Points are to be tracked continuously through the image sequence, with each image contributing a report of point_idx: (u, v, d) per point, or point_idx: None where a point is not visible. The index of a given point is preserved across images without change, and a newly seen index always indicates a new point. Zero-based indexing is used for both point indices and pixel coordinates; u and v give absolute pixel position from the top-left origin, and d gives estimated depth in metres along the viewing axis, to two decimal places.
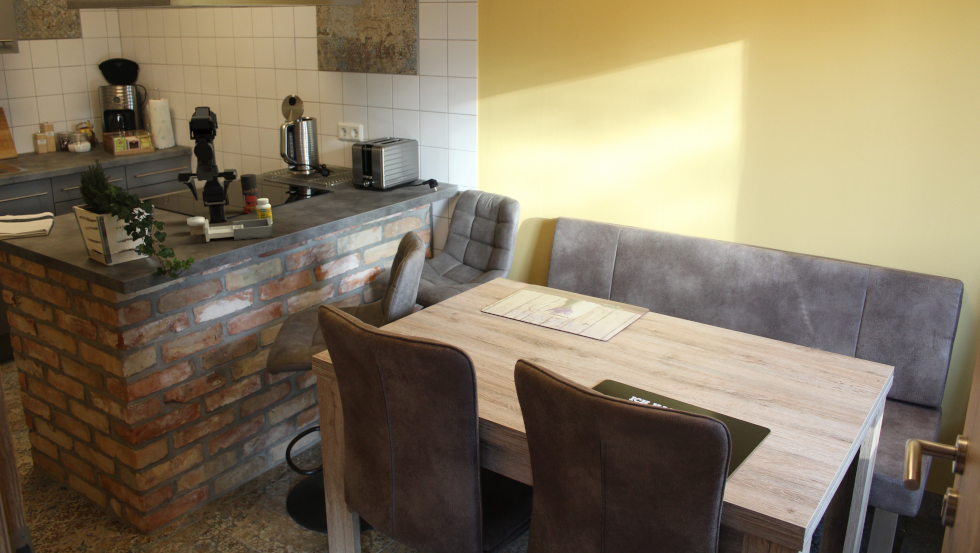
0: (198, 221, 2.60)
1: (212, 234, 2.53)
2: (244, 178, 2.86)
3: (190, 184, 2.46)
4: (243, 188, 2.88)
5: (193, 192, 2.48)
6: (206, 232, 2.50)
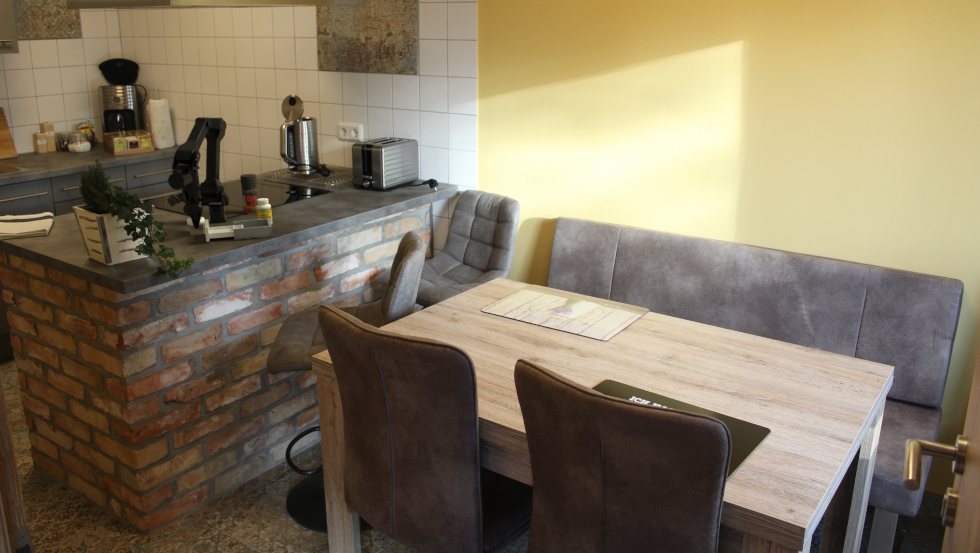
0: None
1: (212, 234, 2.53)
2: (244, 178, 2.86)
3: None
4: (243, 188, 2.88)
5: None
6: (206, 232, 2.50)
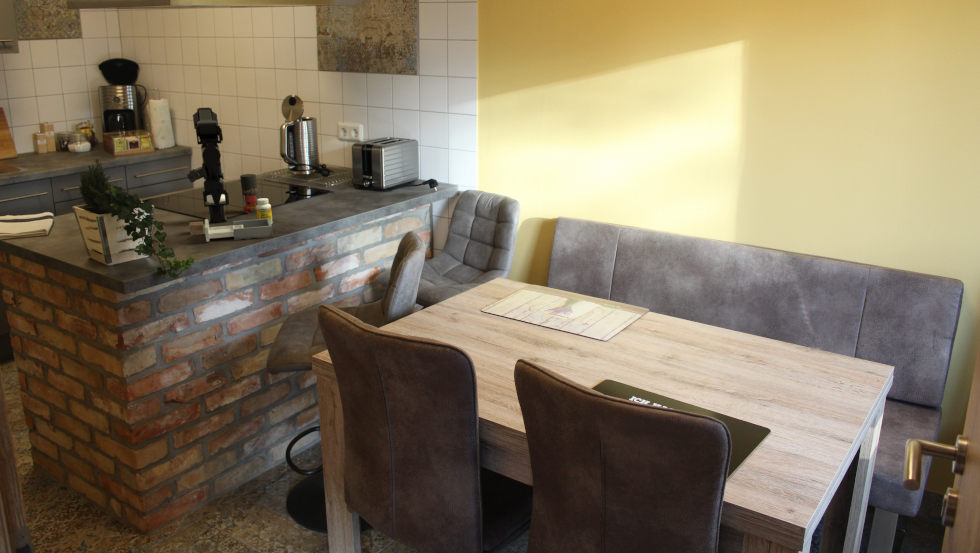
0: None
1: (212, 234, 2.53)
2: (244, 178, 2.86)
3: None
4: (243, 188, 2.88)
5: None
6: (206, 232, 2.50)
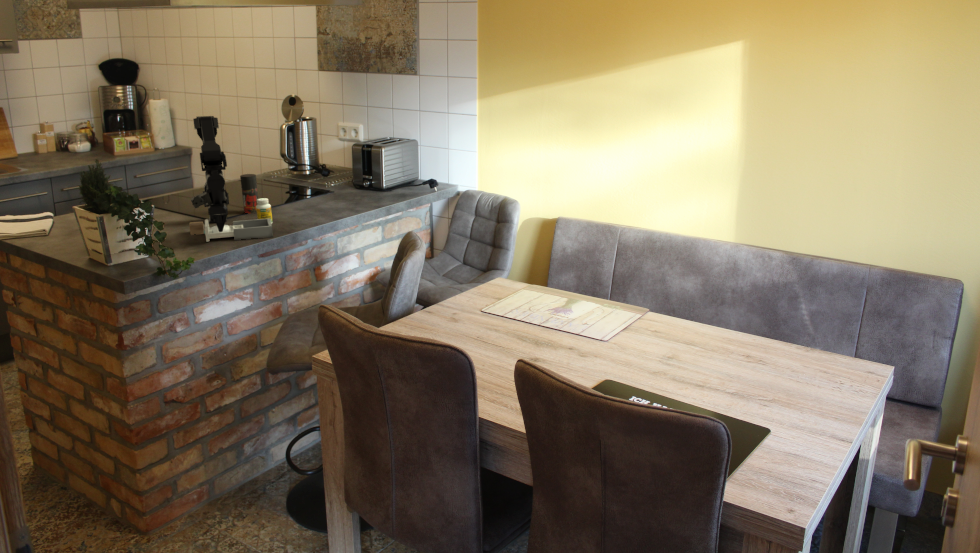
0: (223, 230, 2.55)
1: (212, 234, 2.53)
2: (244, 178, 2.86)
3: None
4: (243, 188, 2.88)
5: None
6: (206, 232, 2.50)
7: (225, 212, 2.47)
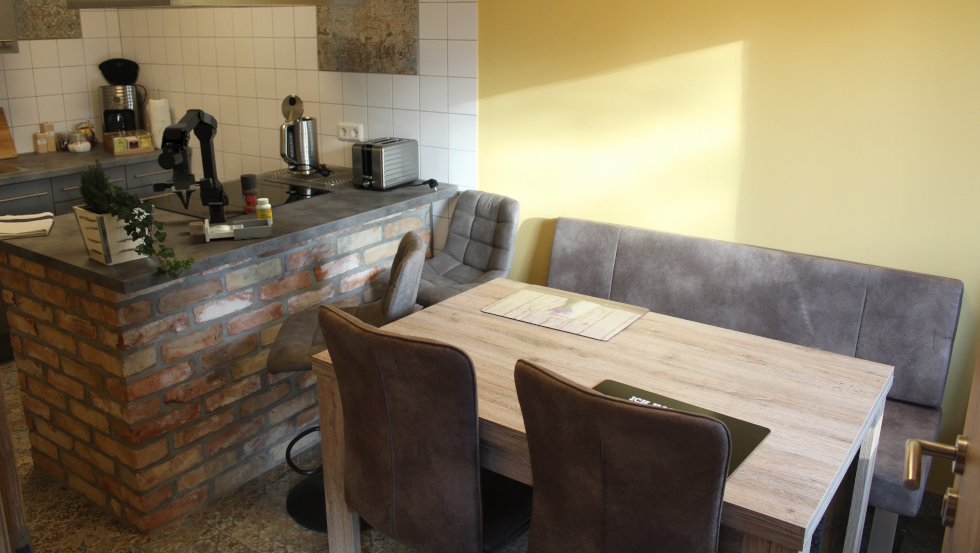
0: (223, 230, 2.55)
1: (212, 234, 2.53)
2: (244, 178, 2.86)
3: (180, 193, 2.47)
4: (243, 188, 2.88)
5: (182, 201, 2.49)
6: (206, 232, 2.50)
7: (212, 183, 2.54)
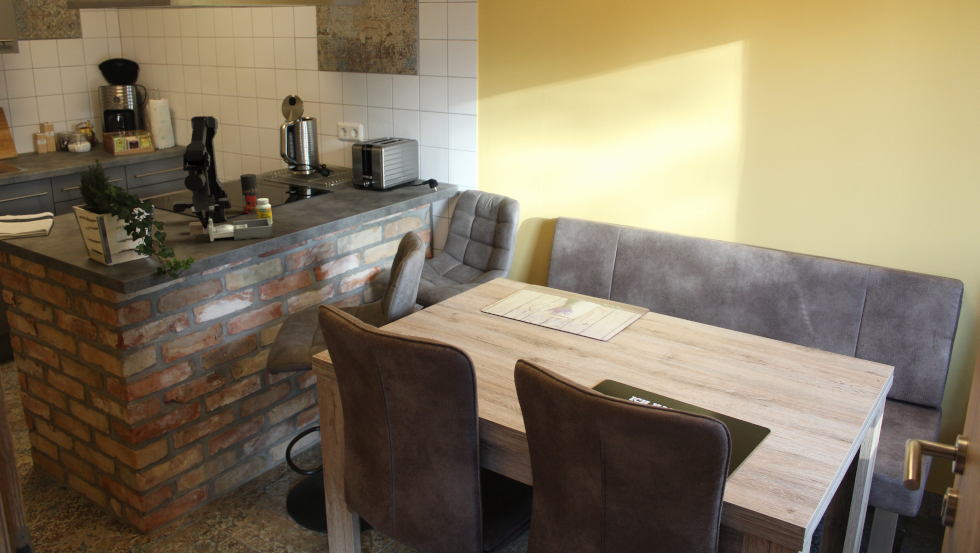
0: (227, 229, 2.56)
1: (216, 234, 2.53)
2: (244, 178, 2.86)
3: (199, 213, 2.51)
4: (243, 188, 2.88)
5: (202, 221, 2.53)
6: (210, 232, 2.51)
7: None
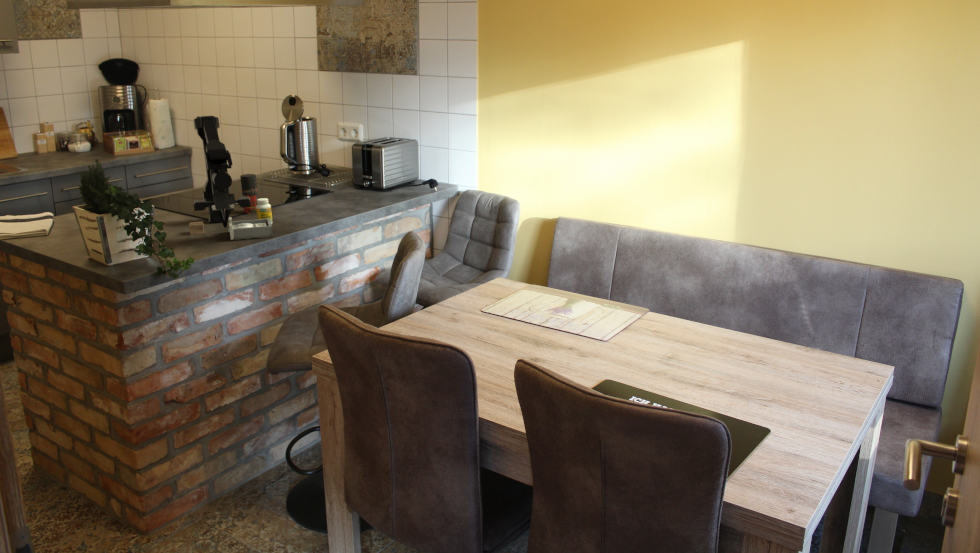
0: None
1: None
2: (244, 178, 2.86)
3: (219, 212, 2.53)
4: (243, 188, 2.88)
5: (222, 219, 2.56)
6: (230, 230, 2.53)
7: None
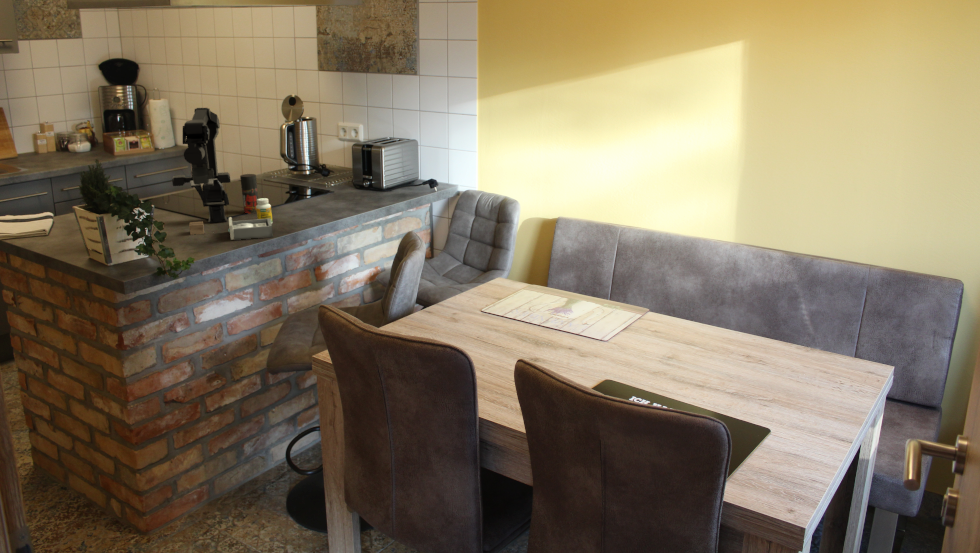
0: None
1: None
2: (244, 178, 2.86)
3: (198, 187, 2.51)
4: (243, 188, 2.88)
5: (201, 195, 2.54)
6: (231, 230, 2.53)
7: None
